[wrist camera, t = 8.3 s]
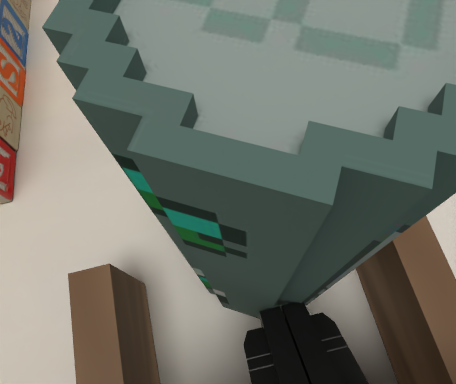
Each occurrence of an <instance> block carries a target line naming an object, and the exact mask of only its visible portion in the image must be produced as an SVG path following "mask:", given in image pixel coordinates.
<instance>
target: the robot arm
mask: <svg viewBox="0 0 456 384" xmlns="http://www.w3.org/2000/svg"><path fill="white" fill-rule="evenodd" d="M259 316H260V320H261V325H262V328H258V329H254V330H250V331H247V334H246V338H245V341H244V349H245V353H246V358H247V363H248V368H249V372H250V377H251V382H252V384H368V382H367V380H366V378H365V376H364V375H363V373H362V371H361V369H360V367H359V365H358V364H357V362H356V360H355V358H354V356H353V355H352V353H351V351H350V349H349V348H348V346H347V344H346V342H345V340H344V338H343V337H342V335H341V333H340V331H339V329H338V327H337V326H336V324H335V322H334V321H333V320H331V319H330V318H329V317H327V316H326V315H325V314H324V313H319V314H314V315H309V313H308V311H307V308H306V306H305V304H304V302H302V303H299V302H294V303H290V304H286V305H282V306H281V308H280V306H278V307H274V308H270V309H266V310H262V311H259Z"/></svg>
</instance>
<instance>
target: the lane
mask: <svg viewBox="0 0 456 384" xmlns="http://www.w3.org/2000/svg"><path fill="white" fill-rule="evenodd" d="M356 270H357V273H358V275H359V278H360V281H361V283H362V286H363V289H364V291H365V294H366V297H367V300H368V302H369V305H370V308H371V310H372V313H373V316H374V318H375V321H376V324H377V326H378V329H379V332H380V335H381V337H382V340H383V343H384V345H385V348H386V351H387V353H388V356H389V359H390V362H391V364H392V367H393V370H394V372H395V375H396V378H397V380H398V383H399V384H456V279H455V277H454V274H453V272H452V270H451V268H450V266H449V264H448V262H447V259H446V257H445V255H444V253H443V251H442V249H441V247H440V244H439V242H438V240H437V238H436V236H435V234H434V232H433V230H432V227H431V225H430V223H429V221H428V219H427V217H426V216H424V217H423V218H422V219H420V220H419V221H418V222H416V223H415V224H414V225H412V226H411V227H410V228H408V229H407V230H406V231H404V232H403V233H402V234H400V235H399V236H398V237H396V238H395V239H394V240H392V241H391V242H390V243H388V244H387V245H386V246H384V247H383V248H382V249H380V250H379V251H378V252H376V253H375V254H374V255H372V256H371V257H370V258H368V259H367V260H366V261H364V262H363V263H362V264H360V265H359V266H358V267H356ZM68 279H69V292H70V305H71V319H72V332H73V345H74V358H75V371H76V384H160V380H159V374H158V367H157V361H156V354H155V348H154V341H153V335H152V328H151V321H150V315H149V308H148V302H147V295H146V289H145V284H144V283H142V282H140V281H138V280H137V279H135V278H133V277H132V276H130V275H128V274H126V273H125V272H123V271H121V270H119V269H118V268H116V267H114V266H112V265H111V264H106V265H102V266H98V267H94V268H90V269H86V270H82V271H78V272H74V273H70V274H68Z"/></svg>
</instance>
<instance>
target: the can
mask: <svg viewBox="0 0 456 384" xmlns="http://www.w3.org/2000/svg"><path fill="white" fill-rule="evenodd" d="M42 28H43V29H44V31H45V33H46V34H47V36H48V37H49V39H50V40H51V42H52V43H53V45H54V46H55V48H56V50H57V51H58V53H59V54H60V56H59V58H58V59H57V63H58V64H59V66H60V67H61V69H62V70H63V72H64V73H65V75H66V76H67V78H68V79H69V80H70V82H71V83H72V85H73V86H74V88H75V89H76V93H75V95H74V96H73V98H72V99H73V100H74V101H75V103H76V104H77V106H78V107H79V109H80V110H81V111H82V113H83V114H84V116H85V117H86V118H87V120H88V121H89V123H90V124H91V125H92V127H93V128H94V130H95V131H96V133H97V134H98V135H99V137H100V138H101V140H102V141H103V142H104V144H105V145H106V147H107V148H108V150H109V151H110V152H111V154H112V155H113V157H114V158H115V159H116V161H117V162H118V164H119V165H120V167H121V168H122V169H123V171H124V172H125V174H126V175H127V176H128V178H129V179H130V181H131V182H132V183H133V185H134V186H135V188H136V189H137V191H138V192H139V193H140V195H141V196H142V198H143V199H144V200H145V202H146V203H147V205H148V206H149V208H150V209H151V210H152V212H153V213H154V215H155V216H156V217H157V219H158V220H159V222H160V223H161V224H162V226H163V227H164V229H165V230H166V232H167V233H168V234H169V236H170V237H171V239H172V240H173V241H174V243H175V244H176V246H177V247H178V249H179V250H180V251H181V253H182V254H183V256H184V257H185V258H186V260H187V261H188V263H189V264H190V266H191V267H192V268H193V270H194V271H195V273H196V274H197V275H198V277H199V278H200V280H201V281H202V282H203V284H204V285H205V287H206V288H207V290H208V291H209V292H210V293H212V294H215V295H217V297H218V299H219V300H220V302H221V304H222V305H223V307H226V308H229V309H232V310H235V311H238V312H241V313H245V314H248V315H251V316H254V317H257V318H260V316H259V311H262V310H266V309H270V308H274V307H278V306H280V308H281V306H282V305H286V304H290V303H294V302H299V303H302V302H304V304H305V305H307V304H309V303H310V302H311V301H313V300H314V299H315V298H317V297H318V296H319V295H321V294H322V293H323V292H325V291H326V290H327V289H328V288H330V287H331V286H332V285H334V284H335V283H336V282H338V281H339V280H340V279H342V278H343V277H344V276H346V275H347V274H348V273H350V272H351V271H352V270H354V269H355V268H356V267H358V266H359V265H360V264H362V263H363V262H364V261H366V260H367V259H368V258H370V257H371V256H372V255H374V254H375V253H376V252H378V251H379V250H380V249H382V248H383V247H384V246H386V245H387V244H388V243H390V242H391V241H392V240H394V239H395V238H396V237H398V236H399V235H400V234H402V233H403V232H404V231H406V230H407V229H408V228H410V227H411V226H412V225H414V224H415V223H416V222H418V221H419V220H420V219H422V218H423V217H424V216H426V215H427V214H428V213H429V212H431V211H432V210H433V209H435V208H436V207H437V206H439V205H440V204H441V203H443V202H444V201H445V200H447V199H448V198H449V197H451V196H452V195H453V194H455V193H456V0H59V2H58V4H57V5H56V7H55V8H54V10H53V12H52V13H51V15H50V16H49V18H48V19H47V21H46V22H45V24H44V25H43V27H42Z"/></svg>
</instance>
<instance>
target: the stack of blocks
mask: <svg viewBox="0 0 456 384" xmlns="http://www.w3.org/2000/svg"><path fill="white" fill-rule="evenodd" d="M30 8H31V0H0V204H1V203H6V202H10V201H12V197H13V183H14V170H15V158H16V154H15V152H16V151H17V150H18V145H19V135H20V124H21V107H22V102H23V94H24V85H25V74H26V70H25V63H26V53H27V42H28V29H29V18H30Z"/></svg>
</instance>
